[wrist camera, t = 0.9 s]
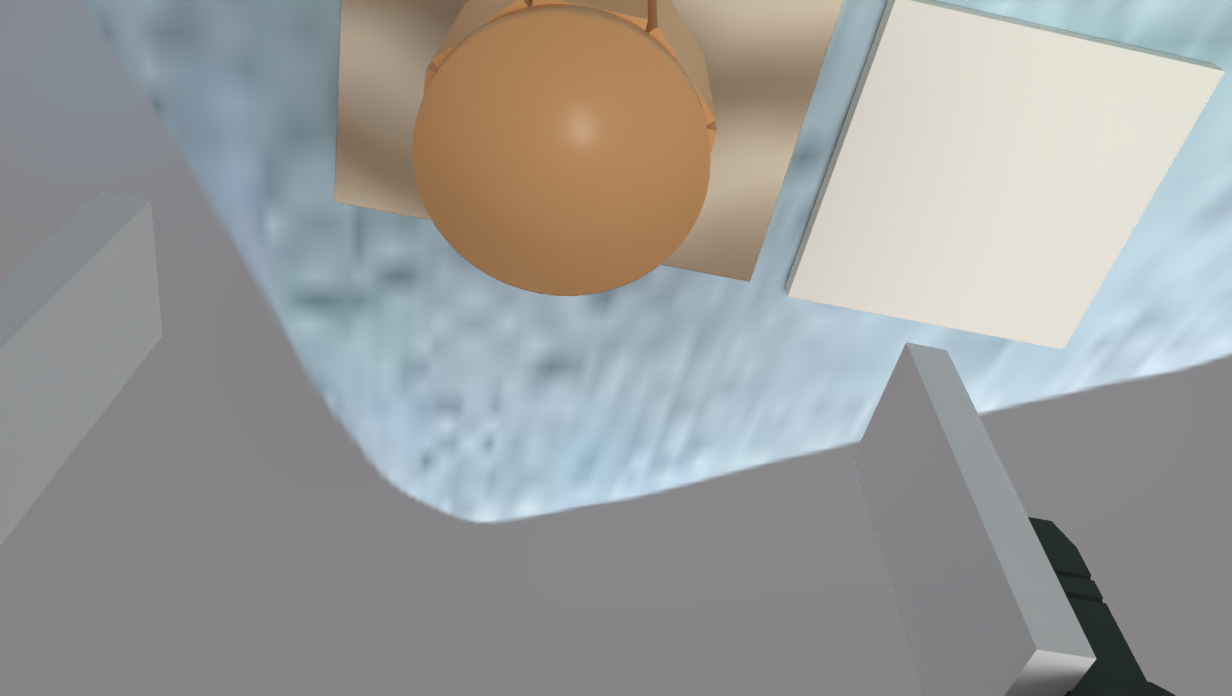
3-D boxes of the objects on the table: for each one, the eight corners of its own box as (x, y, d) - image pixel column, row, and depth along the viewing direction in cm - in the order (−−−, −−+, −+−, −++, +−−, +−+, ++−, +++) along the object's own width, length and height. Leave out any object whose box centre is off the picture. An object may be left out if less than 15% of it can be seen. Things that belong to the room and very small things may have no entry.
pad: (891, -9, 32) (896, -3, 31) (1213, 64, 33) (1225, 71, 32) (785, 286, 39) (787, 296, 38) (1056, 338, 40) (1063, 349, 39)
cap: (469, -72, 25) (425, -16, 20) (726, -15, 25) (746, 53, 20) (443, 170, 29) (401, 267, 24) (666, 214, 29) (671, 318, 24)
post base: (370, -314, 27) (218, -325, 18) (888, -187, 29) (1016, -132, 19) (348, 179, 36) (238, 355, 27) (745, 256, 38) (781, 451, 28)
